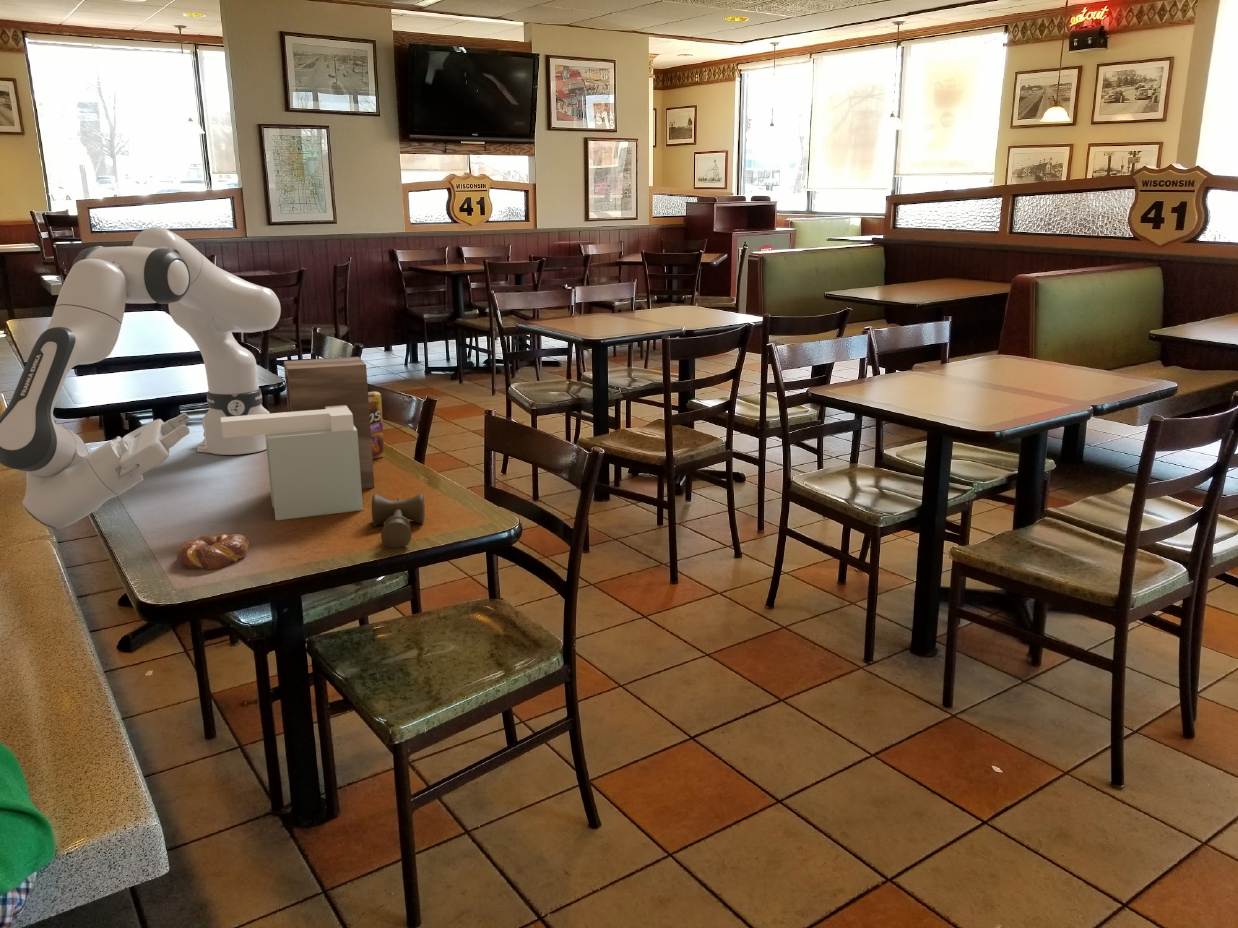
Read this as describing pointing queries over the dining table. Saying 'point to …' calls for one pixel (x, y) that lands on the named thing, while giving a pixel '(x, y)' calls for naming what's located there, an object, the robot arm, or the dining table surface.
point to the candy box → (376, 424)
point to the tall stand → (334, 397)
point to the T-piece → (288, 422)
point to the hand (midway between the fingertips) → (187, 422)
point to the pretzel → (212, 551)
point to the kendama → (397, 518)
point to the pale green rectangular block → (314, 473)
